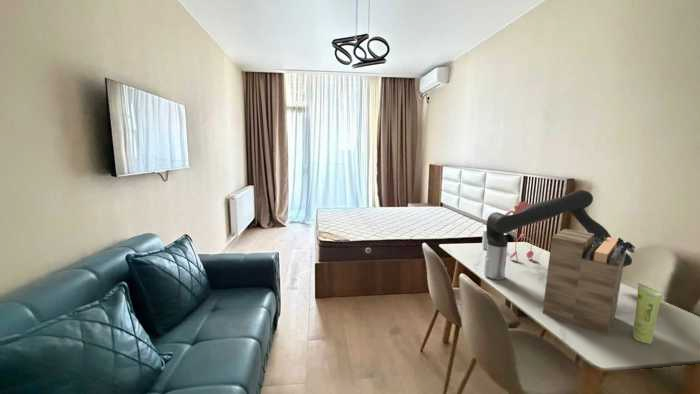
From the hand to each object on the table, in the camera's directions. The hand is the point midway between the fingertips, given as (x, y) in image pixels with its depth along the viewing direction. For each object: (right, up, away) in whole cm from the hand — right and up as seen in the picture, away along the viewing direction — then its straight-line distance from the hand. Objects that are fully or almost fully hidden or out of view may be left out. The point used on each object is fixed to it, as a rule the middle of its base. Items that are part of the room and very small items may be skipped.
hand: (610, 238), depth 118 cm
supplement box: (-12, -17, +80) cm, 82 cm away
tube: (-1, -34, -13) cm, 36 cm away
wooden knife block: (-12, -31, +2) cm, 33 cm away
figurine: (-2, -21, +62) cm, 65 cm away
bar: (-4, -5, -3) cm, 8 cm away
